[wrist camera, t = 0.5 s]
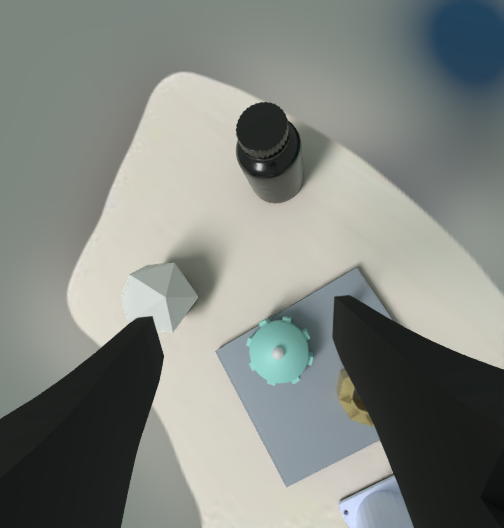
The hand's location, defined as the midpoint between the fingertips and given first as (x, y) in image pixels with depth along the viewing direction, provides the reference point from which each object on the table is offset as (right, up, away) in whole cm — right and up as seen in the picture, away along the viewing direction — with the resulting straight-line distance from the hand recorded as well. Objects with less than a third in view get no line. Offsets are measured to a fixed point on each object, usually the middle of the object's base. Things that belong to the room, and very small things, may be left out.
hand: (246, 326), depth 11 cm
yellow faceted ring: (+12, -11, +20) cm, 26 cm away
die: (-10, -2, +27) cm, 29 cm away
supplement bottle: (+4, +14, +25) cm, 29 cm away
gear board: (+9, -10, +22) cm, 25 cm away
